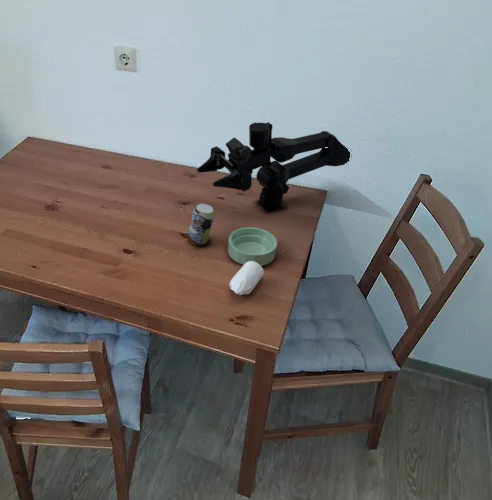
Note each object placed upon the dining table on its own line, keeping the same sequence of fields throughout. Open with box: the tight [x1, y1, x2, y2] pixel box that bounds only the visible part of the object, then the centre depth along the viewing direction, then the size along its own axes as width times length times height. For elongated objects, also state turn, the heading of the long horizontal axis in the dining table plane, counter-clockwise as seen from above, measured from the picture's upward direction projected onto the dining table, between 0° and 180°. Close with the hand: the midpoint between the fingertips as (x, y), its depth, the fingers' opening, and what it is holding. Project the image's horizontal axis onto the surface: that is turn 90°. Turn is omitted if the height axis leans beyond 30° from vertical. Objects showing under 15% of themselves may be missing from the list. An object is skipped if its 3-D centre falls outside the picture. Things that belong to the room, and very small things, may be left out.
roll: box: [228, 261, 265, 296], centre depth 141 cm, size 6×12×6 cm, turn 147°
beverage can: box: [187, 203, 215, 246], centre depth 157 cm, size 6×7×12 cm
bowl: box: [227, 226, 278, 267], centre depth 154 cm, size 13×13×4 cm
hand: (205, 177), depth 157 cm, fingers open, 9 cm apart
